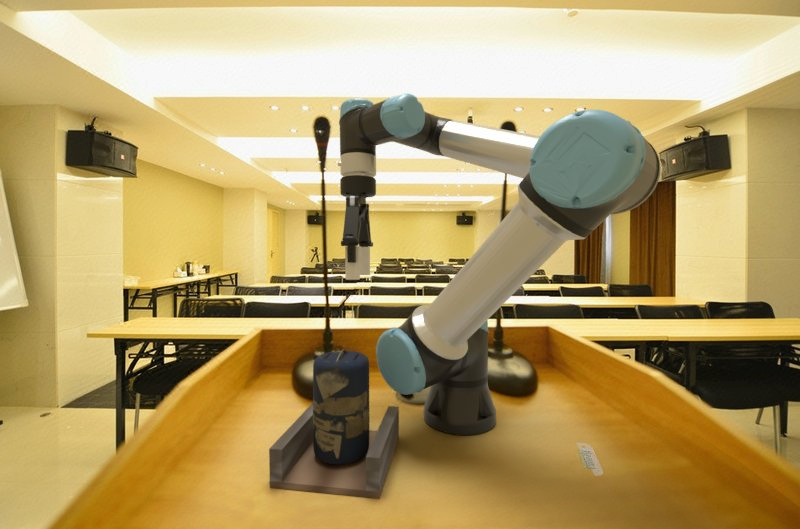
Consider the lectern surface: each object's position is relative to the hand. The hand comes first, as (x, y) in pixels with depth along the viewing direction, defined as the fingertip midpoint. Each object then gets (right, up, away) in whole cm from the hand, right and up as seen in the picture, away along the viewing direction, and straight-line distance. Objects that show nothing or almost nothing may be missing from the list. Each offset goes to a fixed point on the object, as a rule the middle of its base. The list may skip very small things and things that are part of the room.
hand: (358, 277), depth 81 cm
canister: (-1, -30, -16) cm, 34 cm away
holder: (-1, -31, -16) cm, 35 cm away
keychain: (+41, -31, -16) cm, 54 cm away
